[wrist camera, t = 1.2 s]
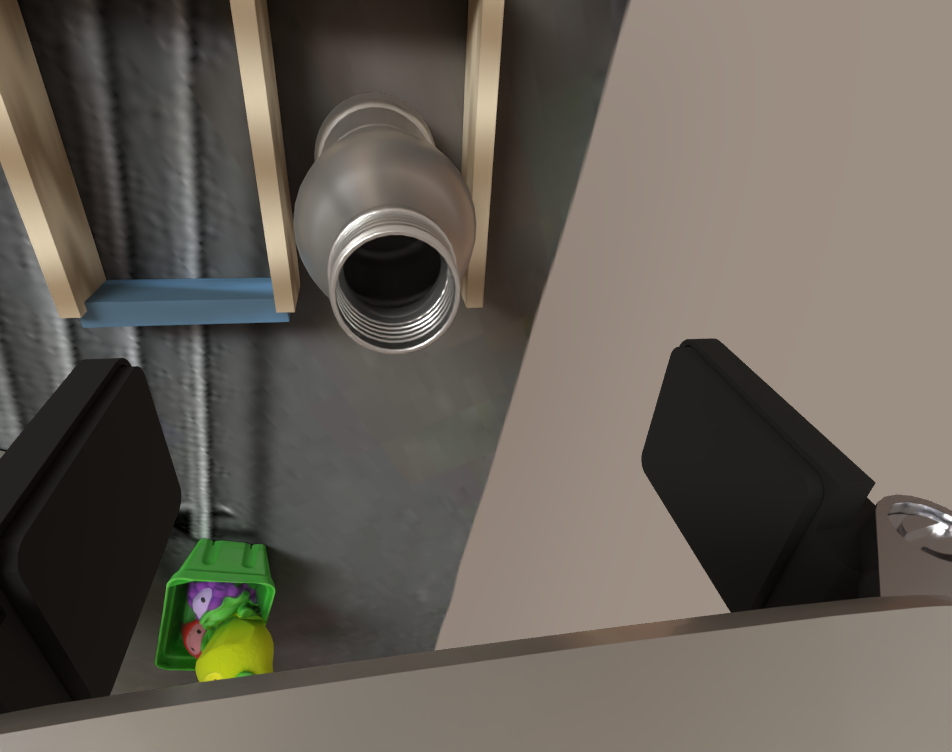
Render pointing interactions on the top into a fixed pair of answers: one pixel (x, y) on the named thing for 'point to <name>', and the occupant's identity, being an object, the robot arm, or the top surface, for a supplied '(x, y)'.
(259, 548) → the fruit basket
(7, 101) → the divider rack
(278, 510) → the top surface
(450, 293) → the plastic bottle
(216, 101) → the top surface
